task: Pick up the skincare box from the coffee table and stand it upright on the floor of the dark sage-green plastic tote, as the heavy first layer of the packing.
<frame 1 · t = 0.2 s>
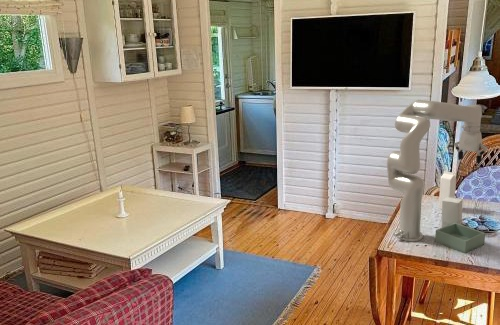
hand: (469, 160, 235), 31 cm above the table, fingers open, 9 cm apart
tote: (459, 243, 211), on the table
milk: (446, 209, 253), on the table
skincare box: (450, 228, 228), on the table
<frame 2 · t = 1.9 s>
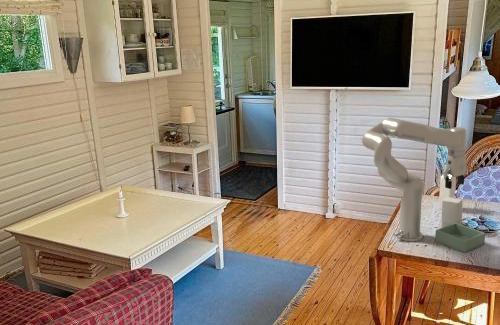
hand: (454, 186, 222), 23 cm above the table, fingers open, 9 cm apart
nothing on the table moved.
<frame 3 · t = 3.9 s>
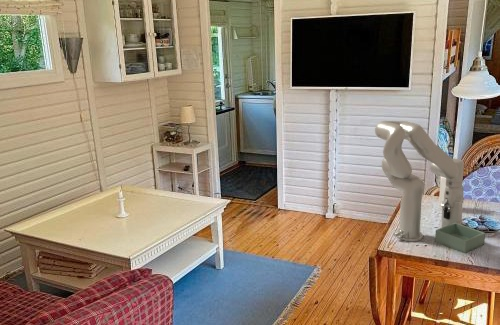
hand: (451, 216, 226), 6 cm above the table, fingers closed on skincare box, 7 cm apart
skincare box: (450, 228, 228), on the table, touching gripper
everything else where it was.
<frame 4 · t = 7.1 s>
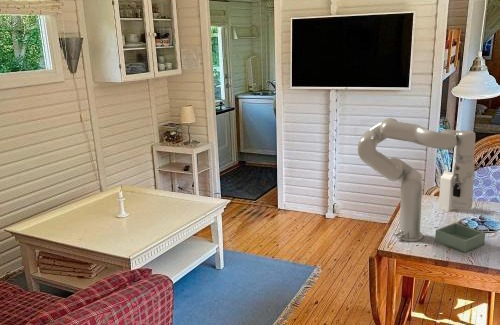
hand: (461, 194, 207), 24 cm above the table, fingers closed on skincare box, 7 cm apart
skincare box: (460, 207, 209), point 17 cm above the table, touching gripper
everything else where it was.
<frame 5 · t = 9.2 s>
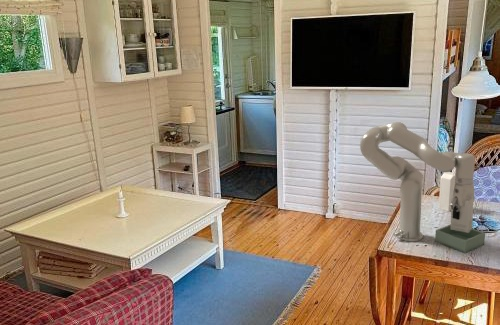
hand: (461, 216, 208), 14 cm above the table, fingers closed on skincare box, 7 cm apart
skincare box: (460, 229, 209), point 7 cm above the table, touching gripper
everything else where it was.
when the fingers open (9 cm above the table, at t = 10.8 s): skincare box drops 1 cm, resting on tote.
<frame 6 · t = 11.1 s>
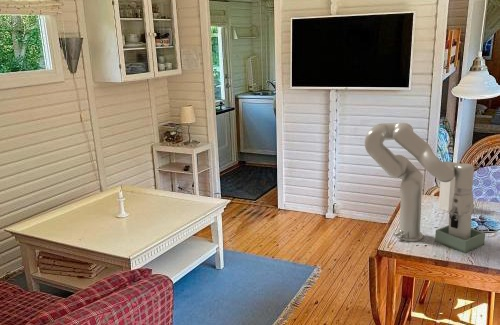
hand: (460, 225, 209), 9 cm above the table, fingers open, 9 cm apart
skincare box: (458, 241, 211), point 1 cm above the table, touching tote
everything else where it was.
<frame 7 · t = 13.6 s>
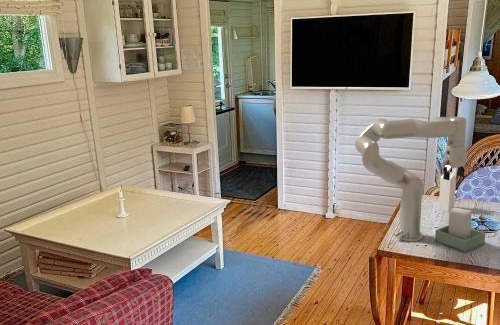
hand: (453, 177, 215), 29 cm above the table, fingers open, 9 cm apart
nothing on the table moved.
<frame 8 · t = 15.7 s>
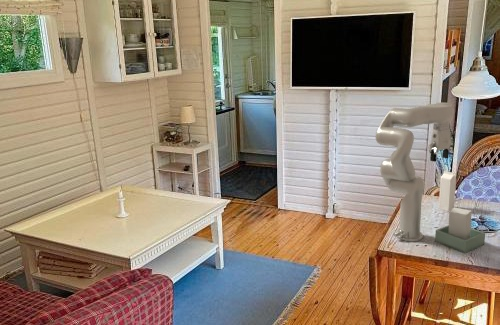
hand: (439, 159, 231), 33 cm above the table, fingers open, 9 cm apart
nothing on the table moved.
at the end: skincare box inside the target area on the tote (0.4 cm from its centre), point 0.8 cm above the tote's base; skincare box tilted 0°; the gripper is holding nothing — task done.
